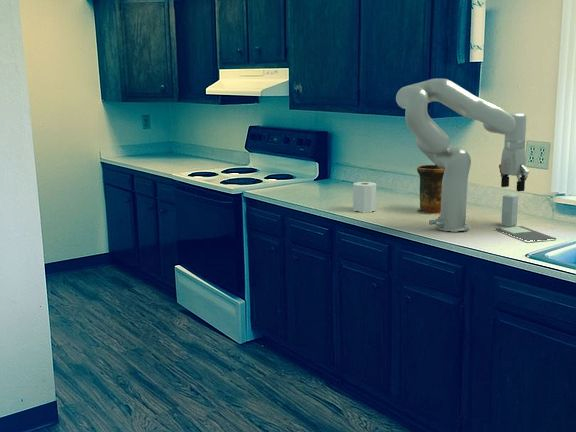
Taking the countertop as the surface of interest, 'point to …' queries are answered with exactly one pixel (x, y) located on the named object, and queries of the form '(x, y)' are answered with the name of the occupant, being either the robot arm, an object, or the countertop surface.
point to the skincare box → (509, 210)
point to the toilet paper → (364, 196)
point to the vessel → (430, 188)
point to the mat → (524, 233)
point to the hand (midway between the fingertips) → (512, 188)
